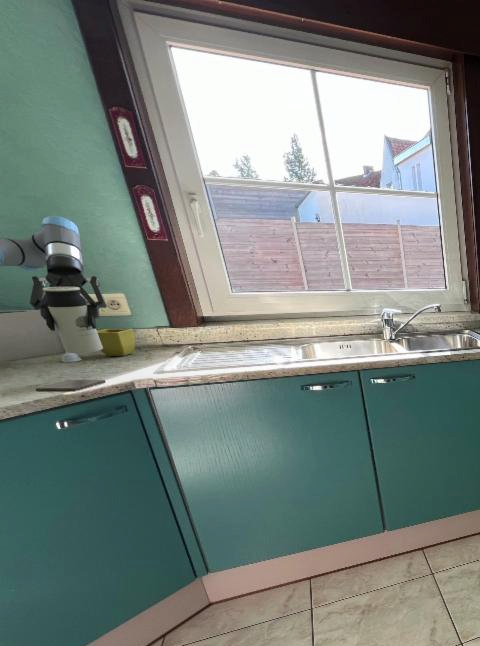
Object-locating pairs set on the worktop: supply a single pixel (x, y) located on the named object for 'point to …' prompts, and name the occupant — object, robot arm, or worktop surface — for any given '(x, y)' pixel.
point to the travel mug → (72, 319)
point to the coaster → (70, 385)
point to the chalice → (68, 356)
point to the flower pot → (117, 341)
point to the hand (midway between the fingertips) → (72, 326)
